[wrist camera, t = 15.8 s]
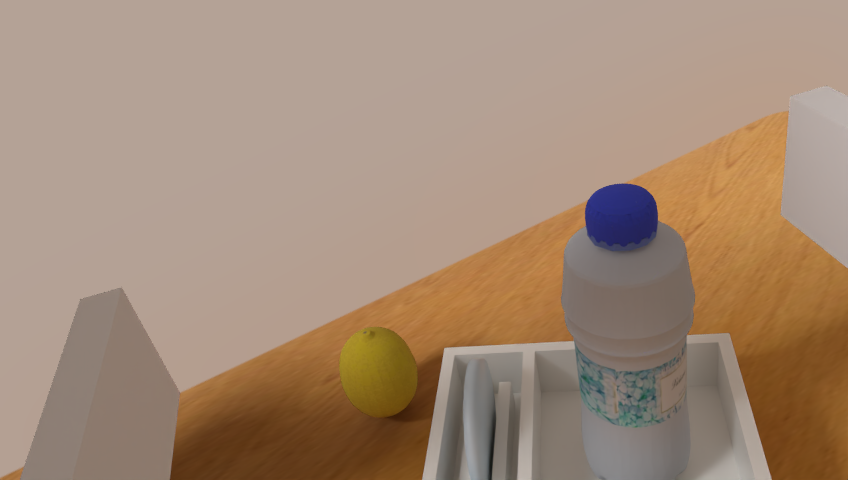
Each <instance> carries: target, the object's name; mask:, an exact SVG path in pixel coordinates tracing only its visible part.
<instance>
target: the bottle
mask: <svg viewBox="0 0 848 480" xmlns="http://www.w3.org/2000/svg"><path fill="white" fill-rule="evenodd" d="M585 220H586V226H585V227H583V228H582V229H580V230H579V231H578V232H576V233H575V234H574V235H573V236H572V237H571V238H570V240H569V241H568V243H567V246H566V248H565V251H564V267H563V286H562V296H561V303H562V307H563V309H564V312H565V323H566V326H567V328H568V331H569V332H570V334H571V335H572V336H573V337H574V344H575V353H576V361H577V370H578V378H579V387H580V394H581V426H582V439H583V445H584V449H585V453H586V456H587V460H588V462H589V465H590V467H591V469H592V471H593V472H594V474H595V475H596V476H597V477H598V478H599V479H601V480H674V479H675V478H676V476H677V475H678V474H680V473H682V472H683V471H684V470H685V469H686V467H687V464H688V460H689V455H690V445H691V439H690V423H689V415H688V406H687V334H688V332H689V330H690V328H691V326H692V323H693V317H694V314H693V306H694V302H695V292H694V288H693V284H692V280H691V274H690V269H689V263H688V258H687V252H686V247H685V243H684V241H683V239H682V238H681V236H680V235H679V234H678V233H677V232H676V231H675V230H674V229H673V228H671V227H670V226H668V225H666V224H664V223H662V222H659V221H658V212H657V205H656V202H655V200H654V198H653V196H652V195H651V194H650V193H649V192H648V191H647V190H646V189H644V188H642V187H640V186H637V185H633V184H614V185H609V186H606V187H603V188H601V189H599V190H597V191H596V192H595V193H594V194H593V195H592V196H591V197H590V199H589V200H588V202H587V205H586V209H585Z"/></svg>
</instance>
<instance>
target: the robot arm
mask: <svg viewBox="0 0 848 480" xmlns="http://www.w3.org/2000/svg"><path fill="white" fill-rule="evenodd" d="M781 216H783V217H784V218H785V219H787V220H788V221H789V222H790V223H792V224H793V225H794V226H795V227H797V228H798V229H799V230H800V231H802V232H803V233H804V234H805V235H807V236H808V237H809V238H810V239H812V240H813V241H814V242H815V243H817V244H818V245H819V246H820V247H822V248H823V249H824V250H825V251H827V252H828V253H829V254H830V255H832V256H833V257H834V258H835V259H837V260H838V261H839V262H840V263H842V264H843V265H844V266H846V267H847V268H848V96H846V95H844V94H842V93H841V92H839V91H837V90H834V89H833V88H831V87H829V86H824V87H821V88H817V89H814V90H810V91H807V92H803V93H800V94H796V95H793V96H790V107H789V118H788V131H787V143H786V155H785V167H784V180H783V192H782V204H781ZM179 397H180V392H179V390H178V388H177V386H176V385H175V383H174V381H173V379H172V378H171V376H170V374H169V372H168V371H167V368H166V367H165V365H164V363H163V361H162V359H161V358H160V356H159V354H158V352H157V350H156V349H155V347H154V345H153V343H152V341H151V339H150V338H149V336H148V334H147V332H146V331H145V329H144V327H143V325H142V324H141V321H140V320H139V318H138V316H137V314H136V312H135V311H134V309H133V307H132V305H131V303H130V302H129V300H128V298H127V296H126V294H125V293H124V291H123V289H122V288H118V289H115V290H111V291H108V292H104V293H101V294H97V295H94V296H90V297H87V298H83V299H80V302H79V305H78V308H77V311H76V314H75V317H74V320H73V323H72V326H71V329H70V332H69V335H68V337H67V341H66V344H65V346H64V349H63V353H62V355H61V359H60V361H59V364H58V367H57V370H56V374H55V376H54V379H53V382H52V385H51V388H50V391H49V394H48V397H47V400H46V403H45V406H44V409H43V412H42V415H41V418H40V421H39V424H38V427H37V430H36V433H35V436H34V439H33V442H32V445H31V448H30V451H29V454H28V457H27V460H26V463H25V466H24V469H23V472H22V475H21V478H20V480H170V474H171V465H172V456H173V448H174V439H175V431H176V422H177V414H178V405H179Z"/></svg>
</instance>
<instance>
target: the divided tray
mask: <svg viewBox="0 0 848 480" xmlns="http://www.w3.org/2000/svg"><path fill="white" fill-rule="evenodd" d="M687 406H688V415H689V423H690V439H691V445H690V455H689V460H688V464H687V467H686V469H685V470H684V471H683V472H682V473H680V474H678V475H677V476H676V478H675V479H674V480H772V479H771V475H770V472H769V468H768V465H767V462H766V458H765V455H764V451H763V448H762V444H761V441H760V437H759V434H758V430H757V427H756V424H755V420H754V417H753V413H752V410H751V406H750V403H749V399H748V396H747V393H746V389H745V386H744V382H743V379H742V375H741V372H740V368H739V365H738V361H737V358H736V355H735V351H734V348H733V344H732V341H731V337H730V334H729V333H720V334H701V335H687ZM422 480H601V479H599V478H598V477H597V476H596V475H595V474H594V472H593V471H592V469H591V467H590V465H589V462H588V460H587V456H586V453H585V449H584V445H583V439H582V426H581V394H580V387H579V378H578V370H577V361H576V353H575V344H574V341H567V342H547V343H528V344H509V345H490V346H470V347H451V348H444V354H443V360H442V366H441V372H440V378H439V384H438V389H437V395H436V401H435V407H434V413H433V419H432V425H431V431H430V437H429V443H428V449H427V455H426V461H425V466H424V472H423V478H422Z"/></svg>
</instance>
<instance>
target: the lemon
mask: <svg viewBox="0 0 848 480" xmlns="http://www.w3.org/2000/svg"><path fill="white" fill-rule="evenodd" d="M339 370H340V378H341V383H342V386H343V389H344V391H345V393H346V395H347V397H348V398H349V400H350V402H351V403H352V404H353V405H354V406H355V407H356V408H357V409H358V410H360V411H361V412H362V413H364V414H367V415H369V416H372V417H378V418H381V417H389V416H393V415H395V414H397V413H399V412H401V411H402V410H403V409H405V408H406V407H407V406H408V405H409V403H410V402H411V400H412V399H413V397H414V395H415V392H416V388H417V384H418V374H417V366H416V362H415V359H414V357H413V355H412V353H411V351H410V349H409V347H408V346H407V344H406V343H405V341H404V340H403V339H402V338H401V337H400V336H399V335H398V334H396V333H395V332H393V331H391V330H389V329H386V328H382V327H369V328H365V329H362V330H360V331H358V332H356V333H355V334H354V335H352V336H351V337H350V338H349V339H348V341H347V342H346V343H345V345H344V347H343V349H342V351H341V356H340V361H339Z"/></svg>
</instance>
